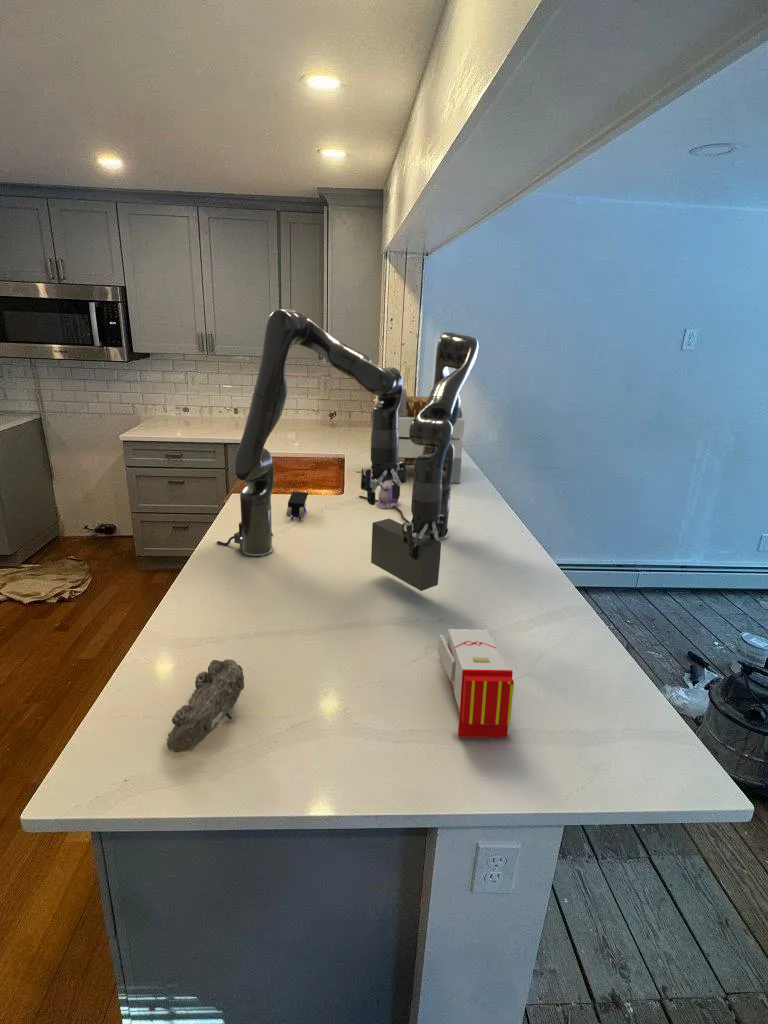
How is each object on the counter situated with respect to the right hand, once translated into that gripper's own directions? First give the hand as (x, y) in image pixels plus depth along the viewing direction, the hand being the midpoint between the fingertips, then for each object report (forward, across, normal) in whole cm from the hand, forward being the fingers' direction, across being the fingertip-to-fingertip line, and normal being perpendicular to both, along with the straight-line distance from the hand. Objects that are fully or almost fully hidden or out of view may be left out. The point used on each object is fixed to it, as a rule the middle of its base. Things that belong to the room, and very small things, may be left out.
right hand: (422, 555), depth 150 cm
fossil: (+13, +64, +11) cm, 66 cm away
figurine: (+14, -43, -65) cm, 80 cm away
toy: (+13, +18, +35) cm, 42 cm away
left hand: (-11, +1, -16) cm, 19 cm away
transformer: (+14, -87, -94) cm, 129 cm away
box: (+8, 0, -7) cm, 11 cm away
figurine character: (+14, -7, -74) cm, 76 cm away
